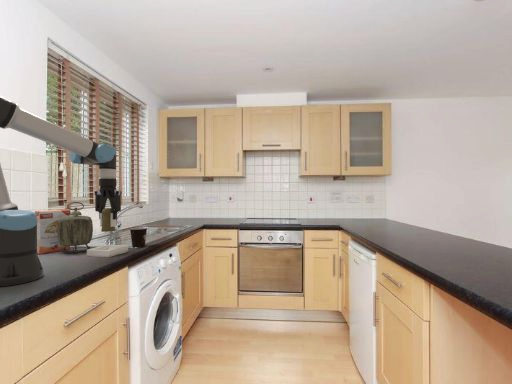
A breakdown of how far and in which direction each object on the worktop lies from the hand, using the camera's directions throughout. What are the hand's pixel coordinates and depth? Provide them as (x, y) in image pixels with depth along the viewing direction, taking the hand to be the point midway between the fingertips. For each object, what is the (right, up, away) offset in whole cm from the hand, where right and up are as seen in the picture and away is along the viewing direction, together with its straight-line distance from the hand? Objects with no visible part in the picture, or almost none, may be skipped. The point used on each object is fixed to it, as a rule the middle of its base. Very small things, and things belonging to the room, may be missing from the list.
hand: (108, 226), depth 134 cm
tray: (0, -13, 0) cm, 13 cm away
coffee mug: (+7, -14, +16) cm, 22 cm away
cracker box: (-31, -14, +6) cm, 35 cm away
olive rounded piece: (0, -2, 0) cm, 2 cm away
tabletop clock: (-18, -14, +4) cm, 23 cm away
